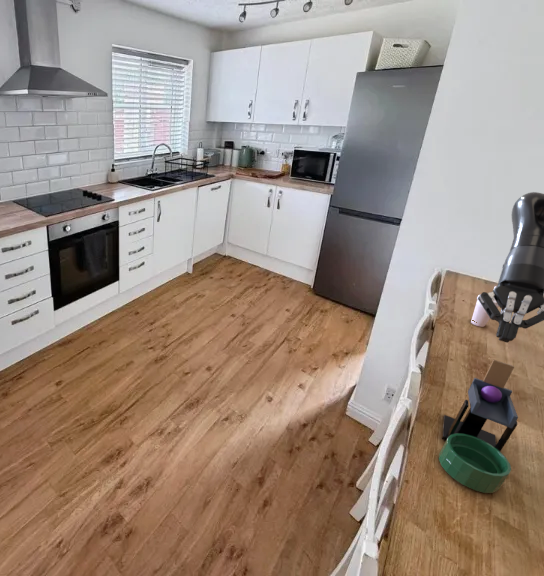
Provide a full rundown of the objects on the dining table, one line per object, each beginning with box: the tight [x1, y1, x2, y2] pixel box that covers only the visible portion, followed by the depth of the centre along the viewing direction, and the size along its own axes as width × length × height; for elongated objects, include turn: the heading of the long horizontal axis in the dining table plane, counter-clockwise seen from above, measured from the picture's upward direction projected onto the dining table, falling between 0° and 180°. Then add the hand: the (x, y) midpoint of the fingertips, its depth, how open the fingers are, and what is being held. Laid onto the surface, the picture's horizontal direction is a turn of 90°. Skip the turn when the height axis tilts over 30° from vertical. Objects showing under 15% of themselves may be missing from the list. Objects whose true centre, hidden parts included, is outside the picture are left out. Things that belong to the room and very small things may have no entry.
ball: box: [481, 386, 502, 403], centre depth 74 cm, size 3×3×3 cm
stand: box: [441, 399, 518, 452], centre depth 75 cm, size 9×9×10 cm
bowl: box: [438, 433, 512, 494], centre depth 69 cm, size 9×9×5 cm
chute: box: [467, 359, 519, 428], centre depth 71 cm, size 10×6×8 cm, turn 143°
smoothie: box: [470, 285, 500, 328], centre depth 121 cm, size 6×6×14 cm
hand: (504, 340), depth 78 cm, fingers closed
